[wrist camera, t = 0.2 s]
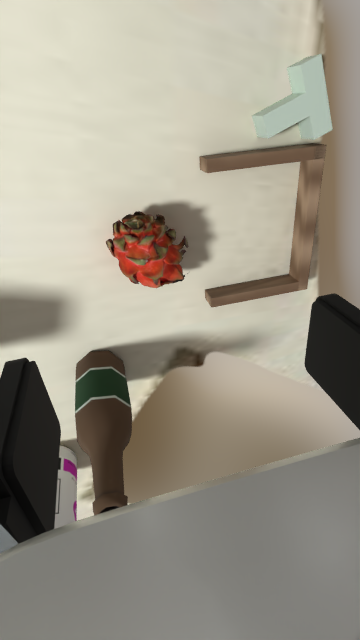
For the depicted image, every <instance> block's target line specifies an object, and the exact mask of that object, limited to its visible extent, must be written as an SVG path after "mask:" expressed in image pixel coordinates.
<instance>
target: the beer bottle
mask: <svg viewBox="0 0 360 640" xmlns="http://www.w3.org/2000/svg"><path fill="white" fill-rule="evenodd" d="M75 418H76V431H77V441H78V443H79V445H80V447H81V449H82V450H83V451H84V452H86V453H87V454H88V455H89V456H90V460H91V464H92V472H93V482H94V492H95V501H94V502H93V512H94V515H98V514H101V513H104V512H107V511H110V510H114V509H117V508H120V507H123V506H126V505H127V498H128V497H127V496H125V495H124V481H123V461H122V455H123V450H124V449H125V447H126V446H127V445H128V443H129V440H130V437H131V431H132V412H131V404H130V398H129V392H128V386H127V380H126V375H125V369H124V365H123V361H122V360H121V359H120V358H118V357H117V356H115V355H114V354H113V353H111V352H110V351H109V350H108V351H92V352H89V353H88V354H87V355H86V356H85V357H84V358H83V359H82V360H80V361H79V362H78V363H77V366H76V393H75Z"/></svg>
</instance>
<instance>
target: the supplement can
mask: <svg viewBox="0 0 360 640" xmlns="http://www.w3.org/2000/svg"><path fill="white" fill-rule="evenodd" d="M76 513H77V457H76V454H75V453H74V452H73V451H72V450H71V449H69V448H67V447H64V446H61V445H60V451H59V466H58V481H57V495H56V510H55V525H54V529H56V528H58V527H61V526H64V525H67V524H70V523H72V522H75V521H76Z"/></svg>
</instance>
